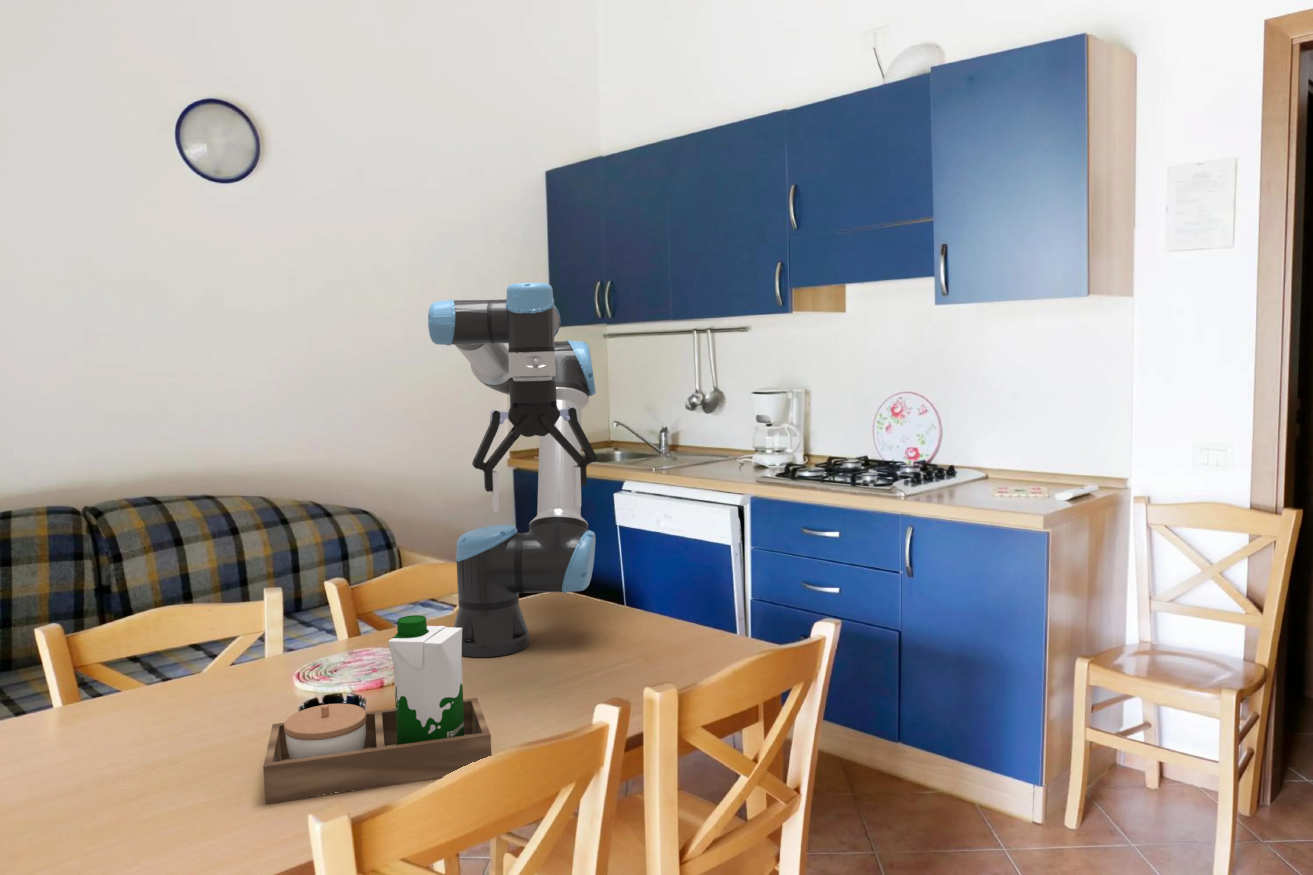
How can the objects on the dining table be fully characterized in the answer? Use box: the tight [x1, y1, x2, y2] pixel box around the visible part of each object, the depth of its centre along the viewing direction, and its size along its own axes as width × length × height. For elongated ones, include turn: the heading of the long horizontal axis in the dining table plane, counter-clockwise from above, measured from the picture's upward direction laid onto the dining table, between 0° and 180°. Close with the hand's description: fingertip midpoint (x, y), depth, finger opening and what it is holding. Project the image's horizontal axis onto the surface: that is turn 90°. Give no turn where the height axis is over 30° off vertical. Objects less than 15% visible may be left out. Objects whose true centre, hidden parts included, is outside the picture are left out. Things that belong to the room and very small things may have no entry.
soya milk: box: [388, 614, 465, 745], centre depth 135 cm, size 9×9×20 cm
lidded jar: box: [283, 703, 367, 760], centre depth 132 cm, size 11×11×9 cm
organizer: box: [262, 697, 492, 805], centre depth 134 cm, size 15×29×5 cm, turn 108°
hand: (537, 508), depth 157 cm, fingers open, 13 cm apart
